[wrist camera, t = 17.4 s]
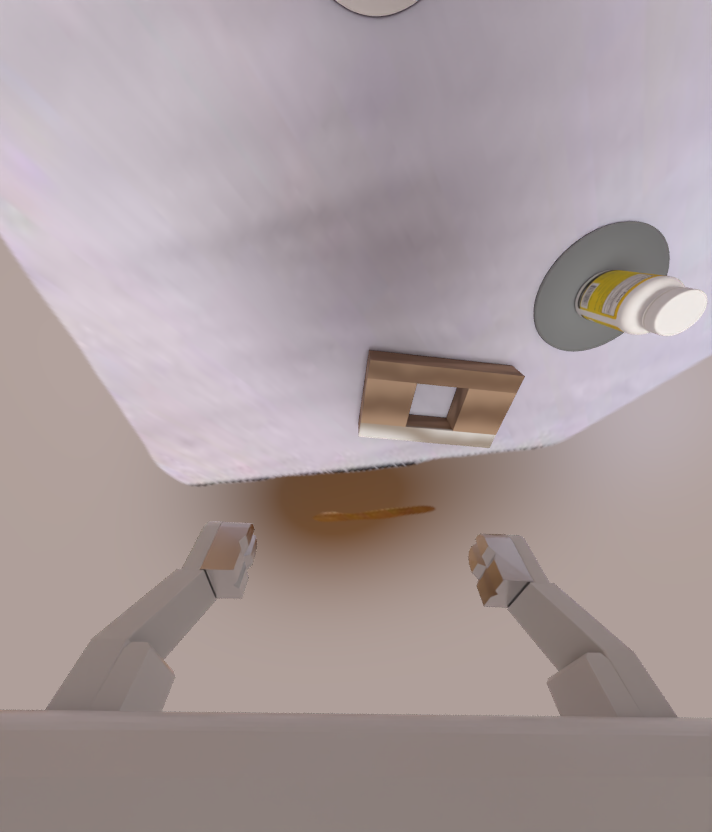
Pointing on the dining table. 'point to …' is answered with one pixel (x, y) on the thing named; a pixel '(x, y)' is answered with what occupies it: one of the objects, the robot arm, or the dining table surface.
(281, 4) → the dining table surface
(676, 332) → the supplement bottle
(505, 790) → the robot arm
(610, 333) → the slate mat
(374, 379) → the walnut dispenser block
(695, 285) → the dining table surface
